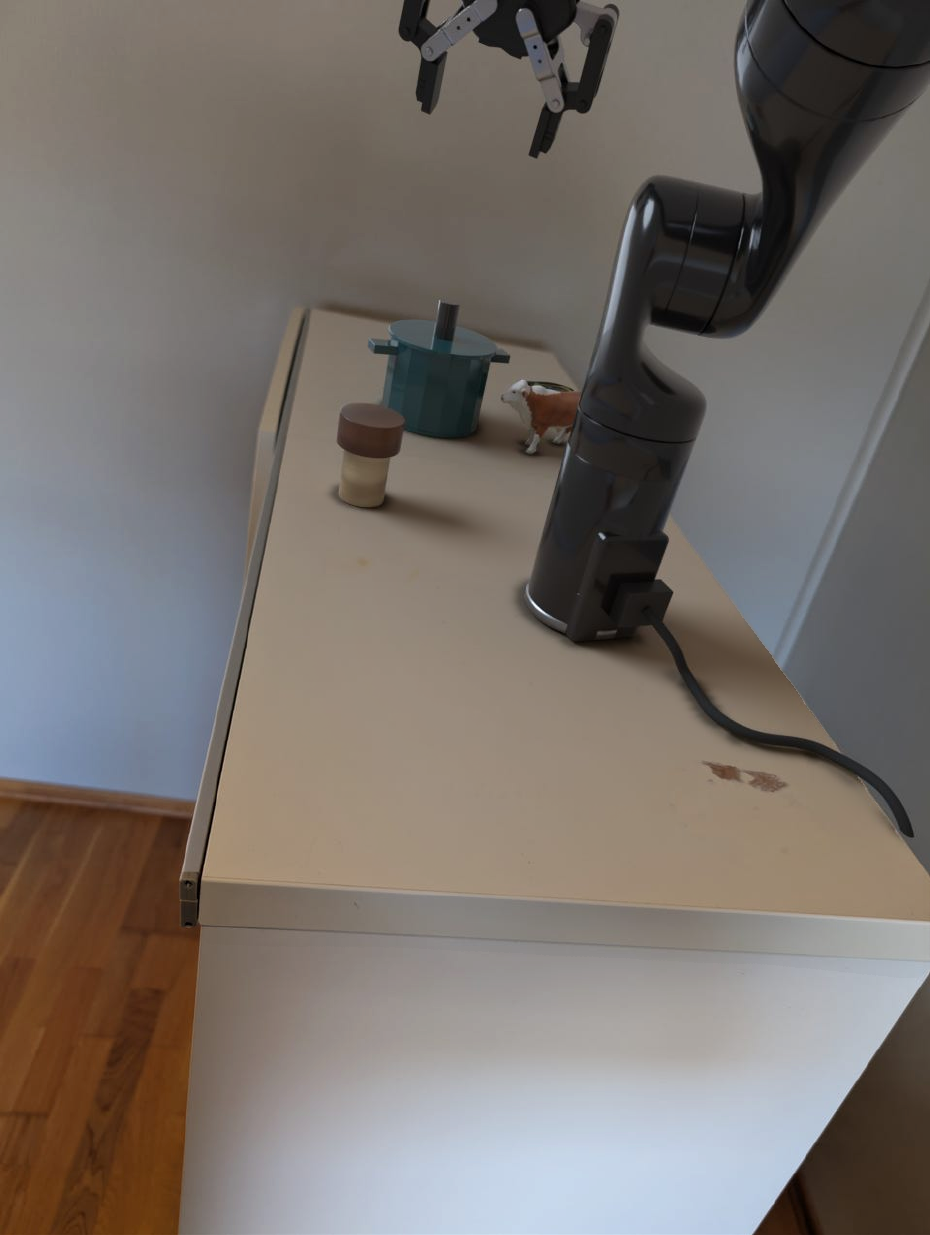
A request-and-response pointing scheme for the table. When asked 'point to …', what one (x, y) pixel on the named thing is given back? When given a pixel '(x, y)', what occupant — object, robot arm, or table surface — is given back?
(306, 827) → the table surface
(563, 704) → the table surface
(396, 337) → the pot lid
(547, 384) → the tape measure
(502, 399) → the bull figurine
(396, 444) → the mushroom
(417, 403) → the pot
